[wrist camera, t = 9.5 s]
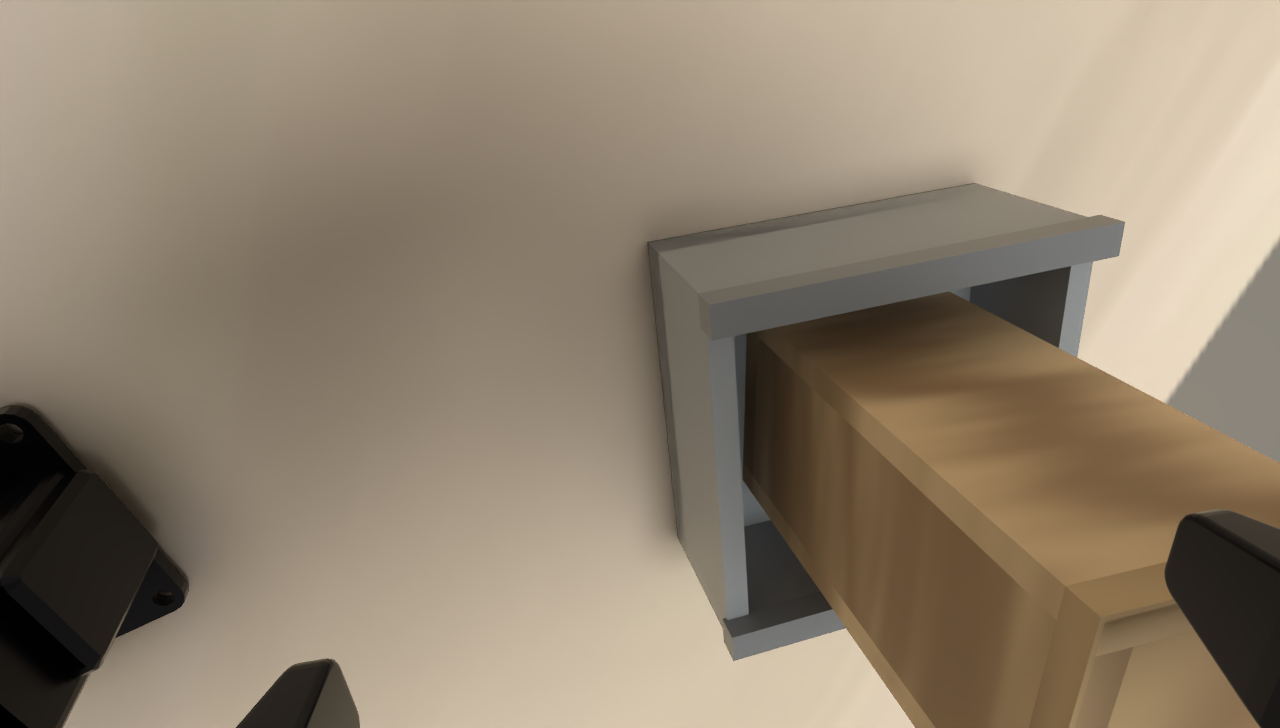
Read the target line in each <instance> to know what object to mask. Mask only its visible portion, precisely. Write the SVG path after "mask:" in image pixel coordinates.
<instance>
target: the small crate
mask: <svg viewBox="0 0 1280 728" xmlns="http://www.w3.org/2000/svg"><path fill="white" fill-rule="evenodd" d="M743 481H744V482H745V484H746V485H747V487H748V488H749V490H750V491H751V492H752V494H753V495H754V497H755V498H756V500H757V501H758V502H759V504H760V505H761V507H762V508H763V510H764V511H765V512H766V514H767V515H768V517H769V518H770V520H771V521H772V522H773V524H774V525H775V527H776V528H777V530H778V531H779V533H780V534H781V535H782V537H783V538H784V540H785V541H786V543H787V544H788V545H789V547H790V548H791V550H792V551H793V553H794V554H795V555H796V557H797V558H798V560H799V561H800V563H801V564H802V566H803V567H804V568H805V570H806V571H807V573H808V574H809V576H810V577H811V578H812V580H813V581H814V583H815V584H816V586H817V587H818V588H819V590H820V591H821V593H822V594H823V596H824V597H825V599H826V600H827V601H828V603H829V604H830V606H831V607H832V609H833V610H834V611H835V613H836V614H837V616H838V617H839V619H840V620H841V621H842V623H843V624H844V626H845V627H846V629H847V630H848V632H849V633H850V634H851V636H852V637H853V639H854V640H855V642H856V643H857V644H858V646H859V647H860V649H861V650H862V652H863V653H864V654H865V656H866V657H867V659H868V660H869V662H870V663H871V665H872V666H873V667H874V669H875V670H876V672H877V673H878V675H879V676H880V677H881V679H882V680H883V682H884V683H885V685H886V686H887V687H888V689H889V690H890V692H891V693H892V695H893V696H894V698H895V699H896V700H897V702H898V703H899V705H900V706H901V708H902V709H903V710H904V712H905V713H906V715H907V716H908V718H909V719H910V720H911V722H912V723H913V725H914V726H915V728H1260V727H1259V726H1258V724H1257V723H1256V721H1255V720H1254V719H1253V717H1252V716H1251V714H1250V713H1249V711H1248V710H1247V708H1246V707H1245V706H1244V704H1243V703H1242V701H1241V700H1240V698H1239V697H1238V695H1237V694H1236V692H1235V691H1234V689H1233V688H1232V686H1231V685H1230V683H1229V682H1228V680H1227V679H1226V677H1225V676H1224V674H1223V673H1222V671H1221V670H1220V668H1219V667H1218V665H1217V664H1216V662H1215V661H1214V659H1213V658H1212V656H1211V655H1210V653H1209V652H1208V650H1207V649H1206V647H1205V646H1204V644H1203V643H1202V641H1201V640H1200V638H1199V637H1198V635H1197V633H1196V632H1195V630H1194V629H1193V627H1192V626H1191V624H1190V623H1189V621H1188V620H1187V618H1186V617H1185V615H1184V614H1183V612H1182V611H1181V609H1180V608H1179V606H1178V605H1177V603H1176V602H1175V600H1174V599H1173V597H1172V596H1171V594H1170V592H1169V590H1168V588H1167V585H1166V582H1165V578H1164V570H1165V566H1166V563H1167V559H1168V556H1169V553H1170V550H1171V547H1172V543H1173V540H1174V537H1175V534H1176V530H1177V527H1178V525H1179V522H1180V521H1181V519H1183V518H1184V517H1185V516H1186V515H1188V514H1191V513H1197V512H1203V511H1209V510H1215V509H1226V510H1231V511H1234V512H1237V513H1239V514H1242V515H1245V516H1247V517H1250V518H1252V519H1255V520H1258V521H1260V522H1263V523H1266V524H1268V525H1271V526H1273V527H1276V528H1279V529H1280V463H1278V462H1277V461H1275V460H1273V459H1271V458H1269V457H1267V456H1265V455H1263V454H1261V453H1259V452H1257V451H1255V450H1253V449H1252V448H1250V447H1248V446H1246V445H1244V444H1242V443H1240V442H1238V441H1236V440H1234V439H1232V438H1230V437H1229V436H1227V435H1225V434H1223V433H1221V432H1219V431H1217V430H1215V429H1213V428H1211V427H1209V426H1207V425H1205V424H1203V423H1202V422H1200V421H1198V420H1196V419H1194V418H1192V417H1190V416H1188V415H1186V414H1184V413H1182V412H1180V411H1179V410H1177V409H1175V408H1173V407H1170V406H1169V405H1167V404H1165V403H1163V402H1161V401H1159V400H1157V399H1155V398H1154V397H1152V396H1150V395H1148V394H1146V393H1144V392H1142V391H1140V390H1138V389H1136V388H1134V387H1132V386H1130V385H1129V384H1127V383H1125V382H1123V381H1121V380H1119V379H1117V378H1115V377H1113V376H1111V375H1109V374H1107V373H1105V372H1104V371H1102V370H1100V369H1098V368H1096V367H1094V366H1092V365H1090V364H1088V363H1086V362H1084V361H1082V360H1080V359H1079V358H1077V357H1075V356H1073V355H1071V354H1069V353H1067V352H1065V351H1063V350H1061V349H1059V348H1057V347H1055V346H1054V345H1052V344H1050V343H1048V342H1046V341H1044V340H1042V339H1040V338H1038V337H1036V336H1034V335H1032V334H1030V333H1029V332H1027V331H1025V330H1023V329H1021V328H1019V327H1017V326H1015V325H1013V324H1011V323H1009V322H1007V321H1005V320H1004V319H1002V318H1000V317H998V316H996V315H994V314H992V313H990V312H988V311H986V310H984V309H982V308H980V307H979V306H977V305H975V304H973V303H971V302H969V301H967V300H965V299H963V298H961V297H959V296H957V295H955V294H954V293H952V292H950V291H948V292H944V293H939V294H934V295H929V296H924V297H919V298H915V299H910V300H905V301H900V302H895V303H891V304H886V305H881V306H876V307H871V308H867V309H862V310H857V311H852V312H847V313H843V314H838V315H833V316H828V317H823V318H819V319H814V320H809V321H804V322H799V323H795V324H790V325H785V326H780V327H775V328H771V329H766V330H761V331H756V332H751V333H747V337H746V374H745V412H744V449H743Z"/></svg>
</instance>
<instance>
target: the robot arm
mask: <svg viewBox="0 0 1280 728" xmlns="http://www.w3.org/2000/svg"><path fill="white" fill-rule="evenodd" d="M7 423H9V424H14V425H17V426H18V427H19V428H21V429H22V431H23V433H24V434H23V435H17V434H13V433H11V432H10V431H8V430H7V428H6V426H5V424H7ZM157 547H158V543H157V542H156V540H155V539H154V538H153V537H152V536H151V535H150V534H149V533H148V531H147V530H146V529H145V528H144V527H143V526H142V525H141V524H140V523H139V521H138V520H137V519H136V518H135V517H134V516H133V515H132V514H131V512H130V511H129V510H128V509H127V508H126V507H125V506H124V505H123V503H122V502H121V501H120V500H119V499H118V498H117V497H116V496H115V494H114V493H113V492H112V491H111V490H110V489H109V488H108V487H107V485H106V484H105V483H104V482H103V481H102V480H101V479H100V478H99V476H98V475H97V474H95V473H93V472H91V471H88V470H87V469H86V468H85V467H84V465H83V464H82V463H81V462H80V461H79V460H78V459H77V458H76V457H75V455H74V454H73V453H72V452H71V451H70V450H69V449H68V448H67V446H66V445H65V444H64V443H63V442H62V441H61V440H60V439H59V438H58V436H57V435H56V434H55V433H54V432H53V431H52V430H51V429H50V427H49V426H48V425H47V424H46V423H45V422H44V421H43V420H42V419H41V417H40V416H39V415H37V414H36V413H35V412H33V411H32V410H30V409H27V408H25V407H21V406H9V407H4V408H1V409H0V728H63V727H64V725H65V723H66V721H67V719H68V717H69V715H70V713H71V711H72V709H73V707H74V705H75V703H76V701H77V699H78V697H79V695H80V693H81V691H82V689H83V687H84V685H85V683H86V681H87V679H88V677H89V675H90V673H91V672H93V671H95V670H97V669H98V668H99V667H100V666H101V665H102V663H103V661H104V659H105V657H106V655H107V653H108V651H109V649H110V647H111V645H112V643H113V641H114V639H115V638H117V637H119V636H121V635H123V634H125V633H128V632H130V631H132V630H134V629H136V628H139V627H141V626H143V625H145V624H147V623H149V622H152V621H154V620H156V619H158V618H160V617H163V616H165V615H167V614H169V613H171V612H173V611H175V610H177V609H178V608H180V607H181V606H182V604H183V603H184V601H185V599H186V596H187V594H188V591H189V585H188V583H187V581H186V579H185V578H184V577H183V576H182V575H181V574H180V573H179V572H178V571H177V569H176V568H175V567H174V566H173V565H172V564H171V563H170V562H169V560H168V559H167V558H166V557H165V556H164V555H163V554H162V553H161V552H160V550H159V549H158V548H157ZM1164 578H1165V582H1166V585H1167V588H1168V590H1169V592H1170V594H1171V596H1172V597H1173V599H1174V600H1175V602H1176V603H1177V605H1178V606H1179V608H1180V609H1181V611H1182V612H1183V614H1184V615H1185V617H1186V618H1187V620H1188V621H1189V623H1190V624H1191V626H1192V627H1193V629H1194V630H1195V632H1196V633H1197V635H1198V637H1199V638H1200V640H1201V641H1202V643H1203V644H1204V646H1205V647H1206V649H1207V650H1208V652H1209V653H1210V655H1211V656H1212V658H1213V659H1214V661H1215V662H1216V664H1217V665H1218V667H1219V668H1220V670H1221V671H1222V673H1223V674H1224V676H1225V677H1226V679H1227V680H1228V682H1229V683H1230V685H1231V686H1232V688H1233V689H1234V691H1235V692H1236V694H1237V695H1238V697H1239V698H1240V700H1241V701H1242V703H1243V704H1244V706H1245V707H1246V708H1247V710H1248V711H1249V713H1250V714H1251V716H1252V717H1253V719H1254V720H1255V721H1256V723H1257V724H1258V726H1259V727H1260V728H1280V529H1279V528H1276V527H1273V526H1271V525H1268V524H1266V523H1263V522H1260V521H1258V520H1255V519H1252V518H1250V517H1247V516H1245V515H1242V514H1239V513H1237V512H1234V511H1231V510H1226V509H1215V510H1209V511H1203V512H1197V513H1191V514H1188V515H1186V516H1185V517H1184V518H1183V519H1181V521H1180V522H1179V525H1178V527H1177V530H1176V534H1175V537H1174V540H1173V543H1172V547H1171V550H1170V553H1169V556H1168V559H1167V563H1166V566H1165V570H1164ZM160 590H166V591H169V592H171V593H172V594H173V595H169V596H167V595H162V594H160V593H159V592H158V591H160ZM236 728H360V722H359V715H358V711H357V708H356V706H355V703H354V701H353V698H352V696H351V693H350V691H349V688H348V686H347V683H346V681H345V678H344V676H343V673H342V671H341V668H340V667H339V665H338V663H337V662H336V661H335V660H333V659H328V658H327V659H321V660H315V661H309V662H303V663H298V664H295V665H292V666H291V667H289V668H288V669H287V670H286V671H285V672H284V673H283V674H282V675H281V676H280V677H279V679H278V680H277V681H276V682H275V683H274V684H273V685H272V687H271V688H270V689H269V690H268V691H267V692H266V694H265V695H264V696H263V697H262V698H261V699H260V701H259V702H258V703H257V704H256V705H255V706H254V707H253V709H252V710H251V711H250V712H249V713H248V714H247V716H246V717H245V718H244V719H243V720H242V721H241V722H240V724H239V725H238V726H237V727H236Z"/></svg>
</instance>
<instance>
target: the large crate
mask: <svg viewBox="0 0 1280 728" xmlns="http://www.w3.org/2000/svg"><path fill="white" fill-rule="evenodd" d="M1124 225H1125V222H1123V221H1120V220H1116V219H1113V218H1109V217H1106V216H1103V215H1097V216H1092V217H1085V216H1082V215H1079V214H1075V213H1072V212H1069V211H1065V210H1062V209H1059V208H1055V207H1052V206H1049V205H1045V204H1042V203H1039V202H1036V201H1032V200H1029V199H1026V198H1022V197H1019V196H1016V195H1012V194H1009V193H1006V192H1002V191H999V190H996V189H992V188H989V187H986V186H982V185H979V184H976V183H974V184H969V185H963V186H958V187H952V188H946V189H941V190H935V191H930V192H924V193H919V194H913V195H907V196H902V197H896V198H891V199H885V200H880V201H874V202H868V203H863V204H857V205H852V206H846V207H841V208H835V209H830V210H824V211H818V212H813V213H807V214H802V215H796V216H791V217H785V218H779V219H774V220H768V221H763V222H757V223H752V224H746V225H740V226H735V227H729V228H724V229H718V230H713V231H707V232H701V233H696V234H690V235H685V236H679V237H674V238H668V239H663V240H657V241H651V242H648V251H649V261H650V270H651V280H652V290H653V300H654V310H655V319H656V329H657V339H658V349H659V358H660V368H661V378H662V388H663V397H664V407H665V417H666V427H667V436H668V446H669V456H670V466H671V476H672V485H673V495H674V505H675V515H676V524H677V534H678V539H679V541H680V543H681V545H682V547H683V549H684V551H685V553H686V555H687V557H688V559H689V561H690V563H691V565H692V567H693V569H694V571H695V573H696V575H697V577H698V579H699V581H700V583H701V585H702V587H703V589H704V591H705V593H706V595H707V597H708V599H709V601H710V604H711V606H712V608H713V610H714V612H715V614H716V616H717V618H718V620H719V622H720V624H721V626H722V628H723V635H724V642H725V644H726V646H727V648H728V651H729V653H730V655H731V657H732V659H733V661H735V660H738V659H742V658H745V657H749V656H752V655H755V654H759V653H762V652H766V651H769V650H772V649H776V648H779V647H783V646H786V645H790V644H793V643H796V642H800V641H803V640H807V639H810V638H813V637H817V636H820V635H824V634H827V633H831V632H834V631H837V630H841V629H844V628H846V627H845V626H844V624H843V623H842V621H841V620H840V619H839V617H838V616H837V614H836V613H835V611H834V610H833V609H832V607H831V606H830V604H829V603H828V601H827V600H826V599H825V597H824V596H823V594H822V593H821V591H820V590H819V588H818V587H817V586H816V584H815V583H814V581H813V580H812V578H811V577H810V576H809V574H808V573H807V571H806V570H805V568H804V567H803V566H802V564H801V563H800V561H799V560H798V558H797V557H796V555H795V554H794V553H793V551H792V550H791V548H790V547H789V545H788V544H787V543H786V541H785V540H784V538H783V537H782V535H781V534H780V533H779V531H778V530H777V528H776V527H775V525H774V524H773V522H772V521H771V520H770V518H769V517H768V515H767V514H766V512H765V511H764V510H763V508H762V507H761V505H760V504H759V502H758V501H757V500H756V498H755V497H754V495H753V494H752V492H751V491H750V490H749V488H748V487H747V485H746V484H745V482H744V481H743V449H744V412H745V374H746V337H747V333H751V332H756V331H761V330H766V329H771V328H775V327H780V326H785V325H790V324H795V323H799V322H804V321H809V320H814V319H819V318H823V317H828V316H833V315H838V314H843V313H847V312H852V311H857V310H862V309H867V308H871V307H876V306H881V305H886V304H891V303H895V302H900V301H905V300H910V299H915V298H919V297H924V296H929V295H934V294H939V293H944V292H948V291H950V292H952V293H954V294H955V295H957V296H959V297H961V298H963V299H965V300H967V301H969V302H971V303H973V304H975V305H977V306H979V307H980V308H982V309H984V310H986V311H988V312H990V313H992V314H994V315H996V316H998V317H1000V318H1002V319H1004V320H1005V321H1007V322H1009V323H1011V324H1013V325H1015V326H1017V327H1019V328H1021V329H1023V330H1025V331H1027V332H1029V333H1030V334H1032V335H1034V336H1036V337H1038V338H1040V339H1042V340H1044V341H1046V342H1048V343H1050V344H1052V345H1054V346H1055V347H1057V348H1059V349H1061V350H1063V351H1065V352H1067V353H1069V354H1071V355H1073V356H1075V357H1077V354H1078V348H1079V342H1080V336H1081V330H1082V324H1083V318H1084V312H1085V306H1086V300H1087V294H1088V288H1089V282H1090V276H1091V270H1092V264H1093V261H1097V260H1102V259H1107V258H1112V257H1116V256H1119V253H1120V247H1121V241H1122V236H1123V230H1124Z"/></svg>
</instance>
